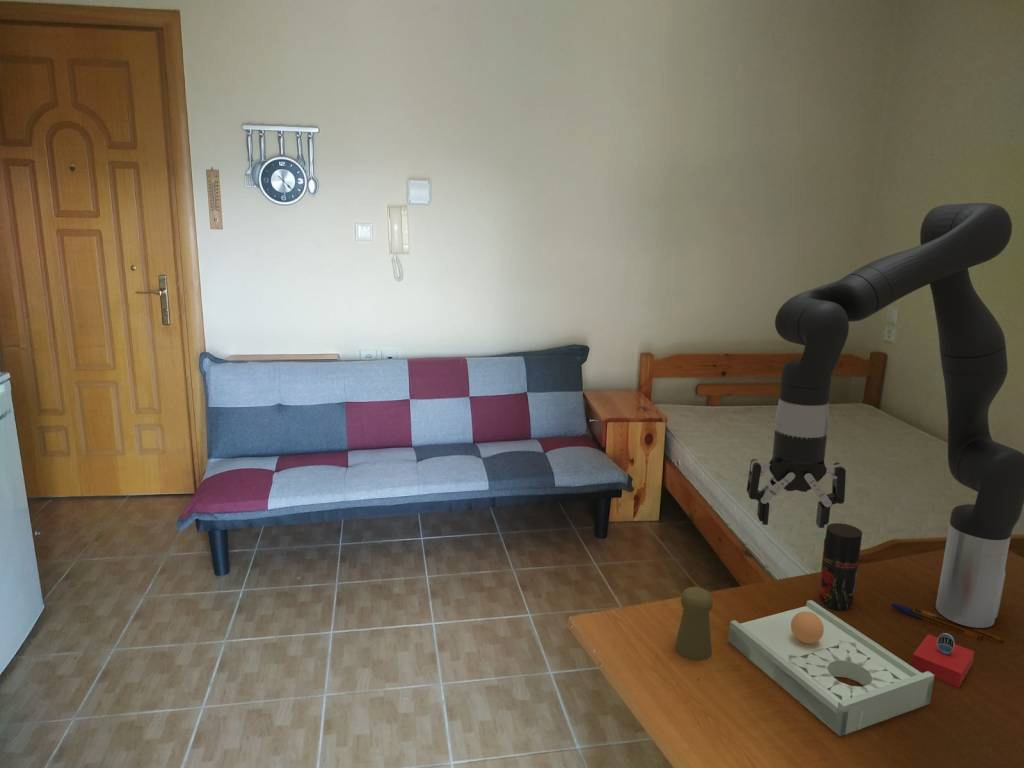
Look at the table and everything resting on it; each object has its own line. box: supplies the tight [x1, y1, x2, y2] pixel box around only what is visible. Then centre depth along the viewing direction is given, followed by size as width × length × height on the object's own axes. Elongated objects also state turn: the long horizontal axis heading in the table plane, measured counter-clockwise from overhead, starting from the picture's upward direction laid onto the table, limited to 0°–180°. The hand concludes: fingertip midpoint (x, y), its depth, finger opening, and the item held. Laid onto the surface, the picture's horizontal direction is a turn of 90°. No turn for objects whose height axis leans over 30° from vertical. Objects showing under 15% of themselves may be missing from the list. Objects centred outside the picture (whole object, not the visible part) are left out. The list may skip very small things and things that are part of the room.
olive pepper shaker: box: [674, 586, 714, 662], centre depth 116 cm, size 6×6×11 cm
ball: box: [791, 611, 824, 643], centre depth 114 cm, size 5×5×5 cm
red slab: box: [910, 632, 975, 689], centre depth 113 cm, size 8×7×6 cm
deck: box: [728, 599, 935, 737], centre depth 112 cm, size 18×24×5 cm
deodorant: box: [817, 522, 863, 612], centre depth 130 cm, size 6×6×15 cm
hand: (791, 524), depth 111 cm, fingers open, 8 cm apart
